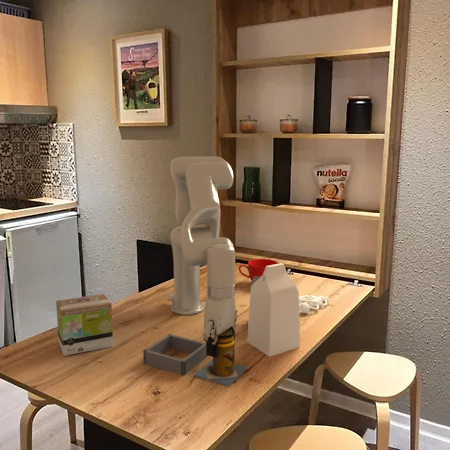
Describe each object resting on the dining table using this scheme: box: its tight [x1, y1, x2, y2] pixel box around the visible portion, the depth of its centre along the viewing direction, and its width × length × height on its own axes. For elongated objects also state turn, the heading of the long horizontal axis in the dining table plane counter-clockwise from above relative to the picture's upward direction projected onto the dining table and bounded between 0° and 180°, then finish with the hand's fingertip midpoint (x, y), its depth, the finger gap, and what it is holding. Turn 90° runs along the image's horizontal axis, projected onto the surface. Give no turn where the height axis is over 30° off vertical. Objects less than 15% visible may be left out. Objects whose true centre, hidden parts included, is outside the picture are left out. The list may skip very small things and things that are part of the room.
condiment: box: [203, 329, 238, 379], centre depth 133 cm, size 7×8×12 cm
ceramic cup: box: [238, 258, 279, 282], centre depth 206 cm, size 13×17×10 cm
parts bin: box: [142, 333, 209, 376], centre depth 141 cm, size 14×13×4 cm
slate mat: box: [193, 358, 248, 387], centre depth 135 cm, size 11×11×1 cm
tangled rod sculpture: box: [299, 294, 331, 314], centre depth 184 cm, size 19×14×4 cm
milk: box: [247, 262, 301, 357], centre depth 149 cm, size 12×12×26 cm
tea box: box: [55, 293, 114, 357], centre depth 149 cm, size 15×10×15 cm
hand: (220, 348), depth 133 cm, fingers open, 9 cm apart
